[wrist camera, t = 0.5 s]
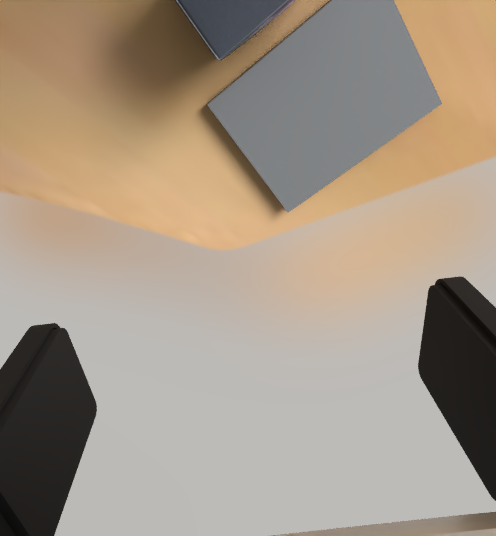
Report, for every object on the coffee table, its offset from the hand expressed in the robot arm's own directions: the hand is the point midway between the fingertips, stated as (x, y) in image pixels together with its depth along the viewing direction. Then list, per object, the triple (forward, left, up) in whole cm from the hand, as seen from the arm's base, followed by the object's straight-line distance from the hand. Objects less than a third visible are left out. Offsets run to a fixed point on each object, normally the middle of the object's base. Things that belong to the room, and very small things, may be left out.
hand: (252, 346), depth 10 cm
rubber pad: (-8, +3, -29) cm, 30 cm away
